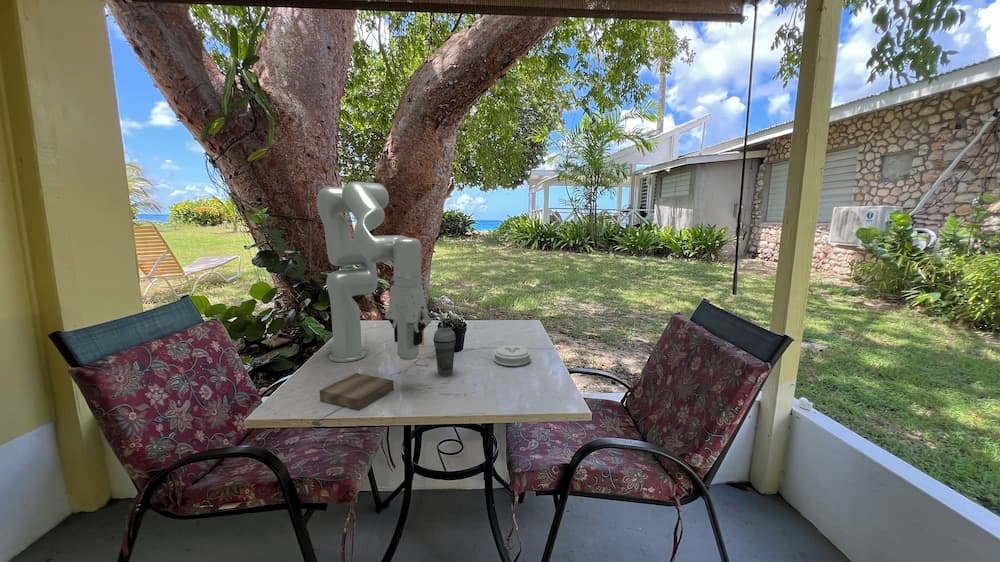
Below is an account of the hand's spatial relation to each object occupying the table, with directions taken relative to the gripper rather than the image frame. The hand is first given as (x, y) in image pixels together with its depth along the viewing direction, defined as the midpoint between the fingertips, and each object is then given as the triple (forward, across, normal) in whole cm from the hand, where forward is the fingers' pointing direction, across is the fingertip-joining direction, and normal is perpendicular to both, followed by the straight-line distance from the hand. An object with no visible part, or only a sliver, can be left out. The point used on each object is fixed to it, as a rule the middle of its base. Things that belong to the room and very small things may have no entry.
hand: (408, 342), depth 120 cm
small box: (+16, -24, +34) cm, 45 cm away
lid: (+14, +19, +34) cm, 41 cm away
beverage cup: (+14, +4, +14) cm, 20 cm away
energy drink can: (+5, 0, 0) cm, 5 cm away
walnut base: (+14, -10, -10) cm, 20 cm away
